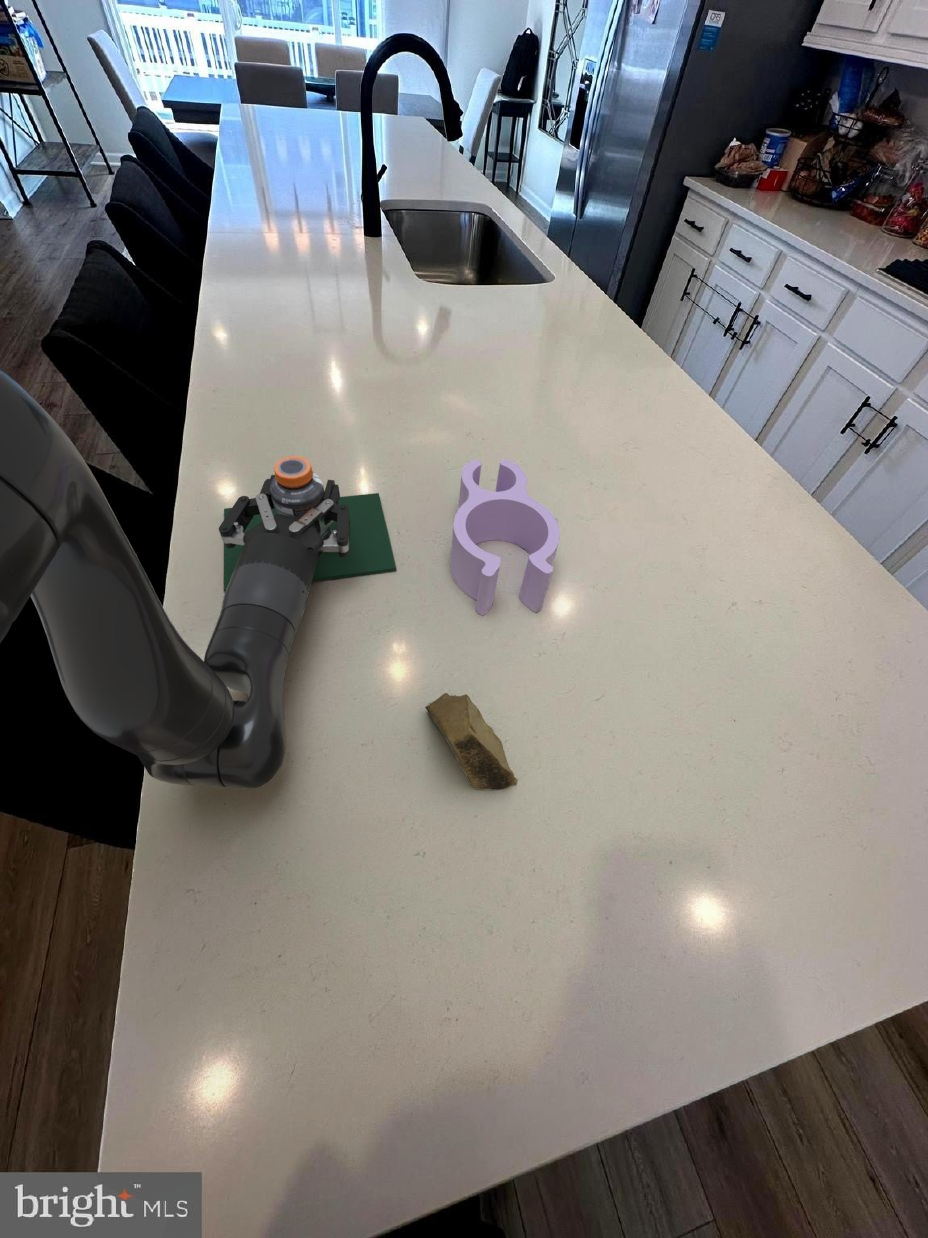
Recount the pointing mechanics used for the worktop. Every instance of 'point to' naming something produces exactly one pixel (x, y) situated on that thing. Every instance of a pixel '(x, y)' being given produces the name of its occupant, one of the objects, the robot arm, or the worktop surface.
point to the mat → (365, 543)
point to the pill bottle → (296, 488)
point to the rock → (472, 742)
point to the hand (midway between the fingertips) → (304, 483)
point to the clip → (501, 535)
